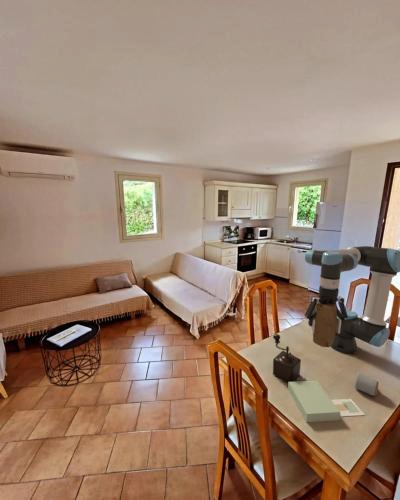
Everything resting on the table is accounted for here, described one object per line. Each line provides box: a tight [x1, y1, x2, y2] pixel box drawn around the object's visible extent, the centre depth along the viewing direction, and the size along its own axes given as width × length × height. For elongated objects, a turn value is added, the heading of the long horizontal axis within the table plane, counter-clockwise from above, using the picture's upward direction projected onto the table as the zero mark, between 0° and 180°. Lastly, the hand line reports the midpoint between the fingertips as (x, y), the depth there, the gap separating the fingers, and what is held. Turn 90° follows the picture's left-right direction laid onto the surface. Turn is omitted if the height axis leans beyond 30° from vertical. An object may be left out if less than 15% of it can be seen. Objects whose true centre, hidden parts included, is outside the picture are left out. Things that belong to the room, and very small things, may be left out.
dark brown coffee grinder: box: [272, 333, 302, 384], centre depth 116 cm, size 16×11×18 cm
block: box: [312, 301, 338, 348], centre depth 101 cm, size 11×8×20 cm
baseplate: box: [287, 380, 341, 423], centre depth 98 cm, size 14×17×4 cm
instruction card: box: [331, 398, 365, 418], centre depth 96 cm, size 10×8×1 cm
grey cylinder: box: [354, 371, 380, 397], centre depth 105 cm, size 11×8×8 cm
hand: (324, 332), depth 101 cm, fingers closed on block, 11 cm apart
